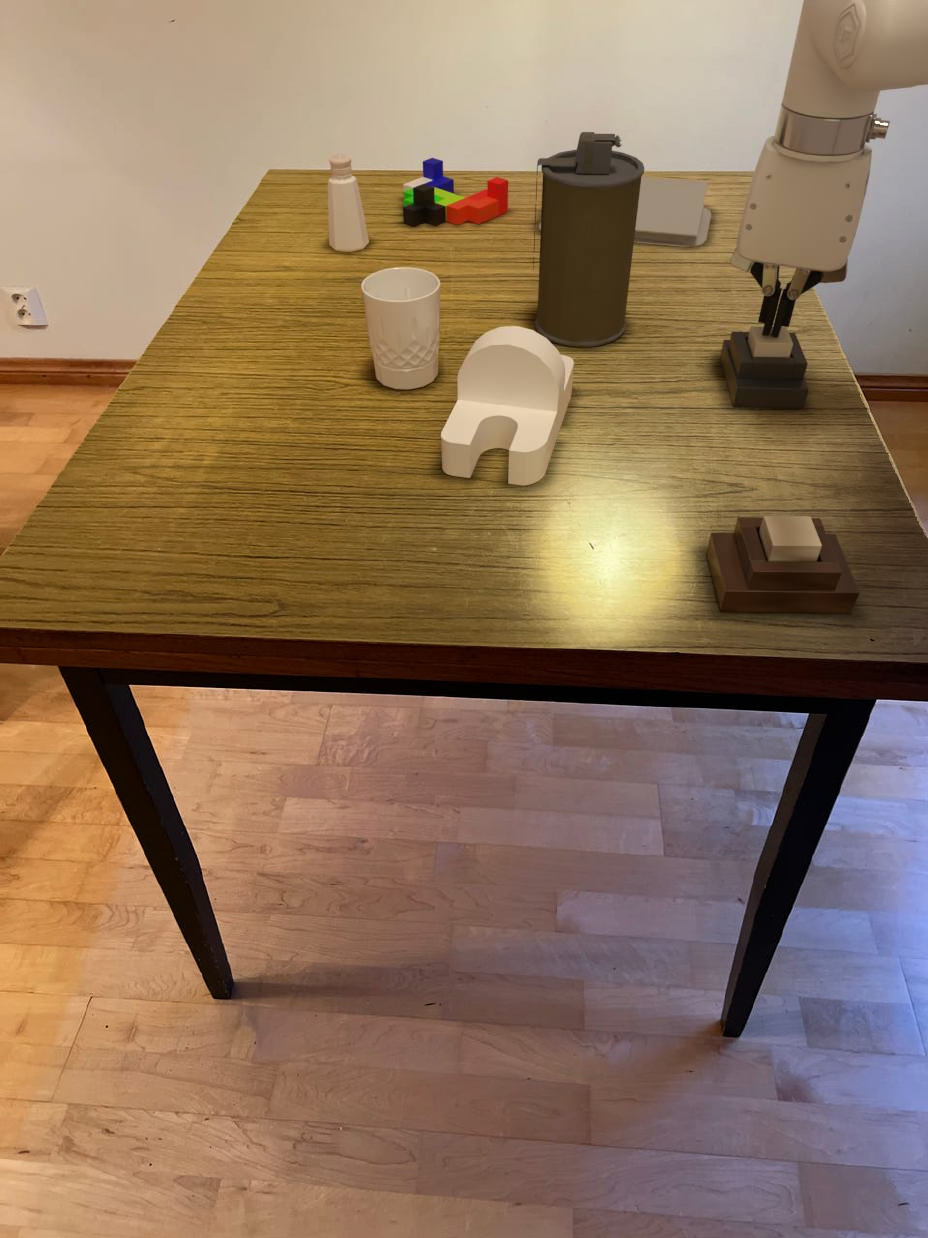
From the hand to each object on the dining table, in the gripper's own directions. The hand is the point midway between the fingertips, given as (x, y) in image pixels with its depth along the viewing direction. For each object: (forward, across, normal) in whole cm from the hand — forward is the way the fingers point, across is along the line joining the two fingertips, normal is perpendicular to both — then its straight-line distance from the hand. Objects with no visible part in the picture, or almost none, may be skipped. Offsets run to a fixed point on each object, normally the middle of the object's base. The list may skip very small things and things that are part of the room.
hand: (771, 330), depth 88 cm
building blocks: (+6, +50, -32) cm, 60 cm away
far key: (+2, 0, 0) cm, 2 cm away
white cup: (+6, +35, +12) cm, 38 cm away
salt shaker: (+6, +57, -17) cm, 60 cm away
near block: (+6, -6, +31) cm, 32 cm away
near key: (+2, -6, +31) cm, 32 cm away
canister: (+6, +21, -5) cm, 23 cm away
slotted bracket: (+6, +21, +18) cm, 28 cm away
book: (+6, +24, -38) cm, 46 cm away
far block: (+6, 0, 0) cm, 6 cm away
